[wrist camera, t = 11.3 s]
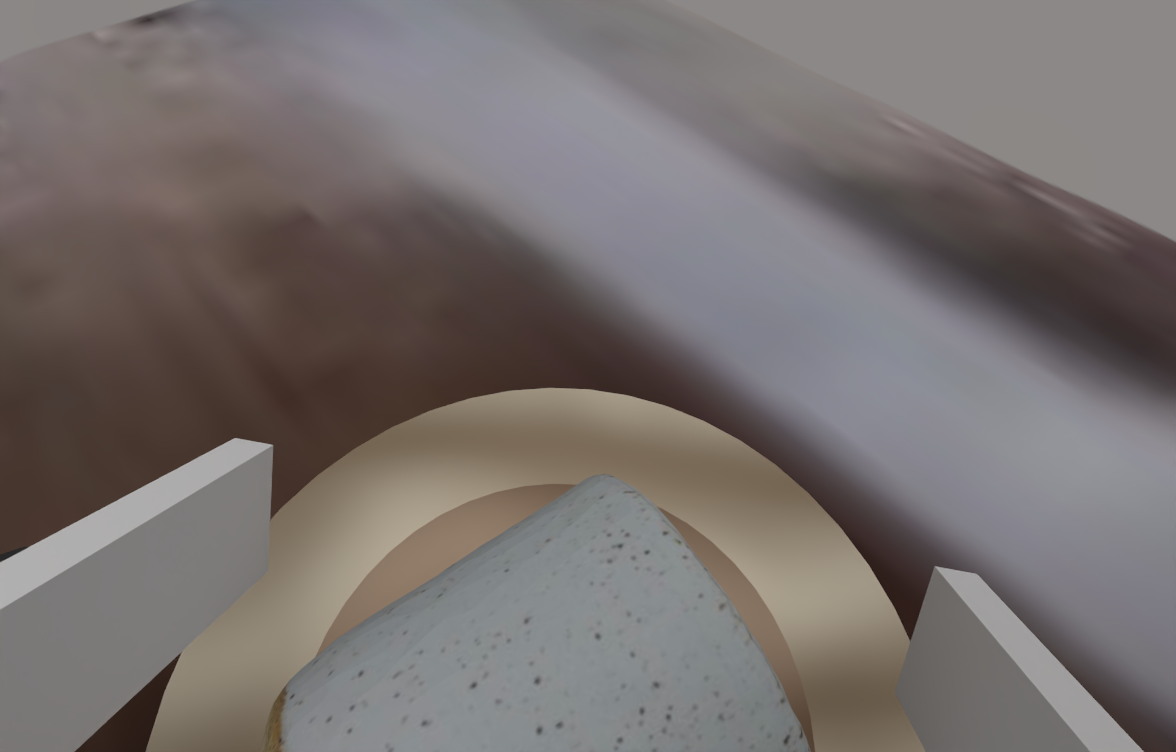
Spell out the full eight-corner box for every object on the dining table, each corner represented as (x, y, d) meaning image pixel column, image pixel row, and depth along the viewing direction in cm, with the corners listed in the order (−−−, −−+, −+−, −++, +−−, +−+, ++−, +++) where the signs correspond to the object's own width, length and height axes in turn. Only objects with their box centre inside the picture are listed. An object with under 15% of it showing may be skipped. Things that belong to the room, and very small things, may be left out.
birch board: (1071, 1148, 14) (1145, 1203, 13) (93, 1463, 12) (10, 1588, 10) (779, 380, 24) (798, 349, 23) (213, 456, 22) (183, 428, 20)
